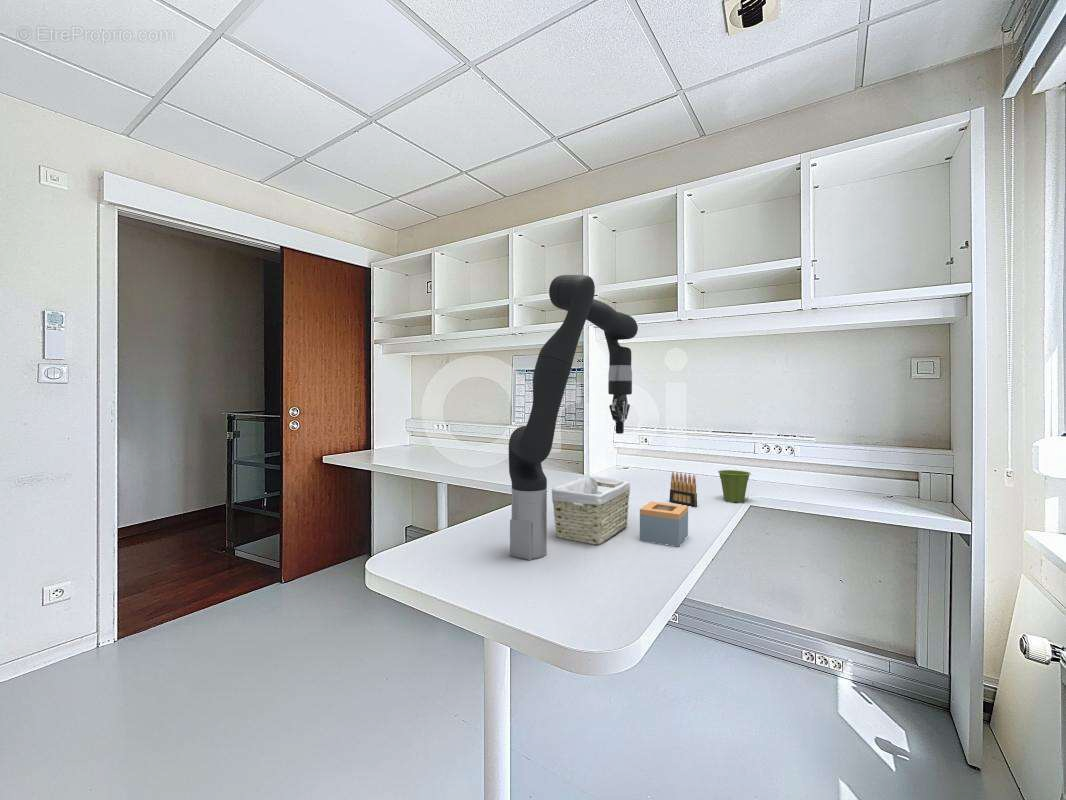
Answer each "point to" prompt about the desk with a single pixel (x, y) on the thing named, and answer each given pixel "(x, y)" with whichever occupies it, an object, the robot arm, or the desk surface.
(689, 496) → the ammunition clip
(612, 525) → the storage basket
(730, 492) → the plant pot
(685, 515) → the sleeve
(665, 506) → the peg
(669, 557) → the desk surface
